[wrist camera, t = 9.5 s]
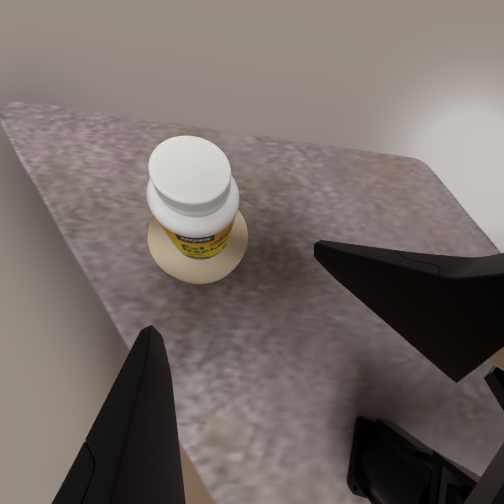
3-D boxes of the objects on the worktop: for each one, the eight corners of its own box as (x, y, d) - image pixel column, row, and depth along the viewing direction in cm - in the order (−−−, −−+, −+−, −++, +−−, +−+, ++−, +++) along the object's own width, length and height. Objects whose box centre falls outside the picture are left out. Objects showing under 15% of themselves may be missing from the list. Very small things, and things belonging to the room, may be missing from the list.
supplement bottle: (183, 269, 17) (145, 234, 8) (166, 218, 18) (113, 127, 8) (236, 251, 19) (262, 202, 9) (218, 204, 20) (225, 115, 10)
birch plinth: (225, 297, 20) (227, 297, 18) (139, 264, 19) (126, 259, 16) (254, 223, 23) (260, 213, 20) (181, 191, 22) (176, 176, 19)
